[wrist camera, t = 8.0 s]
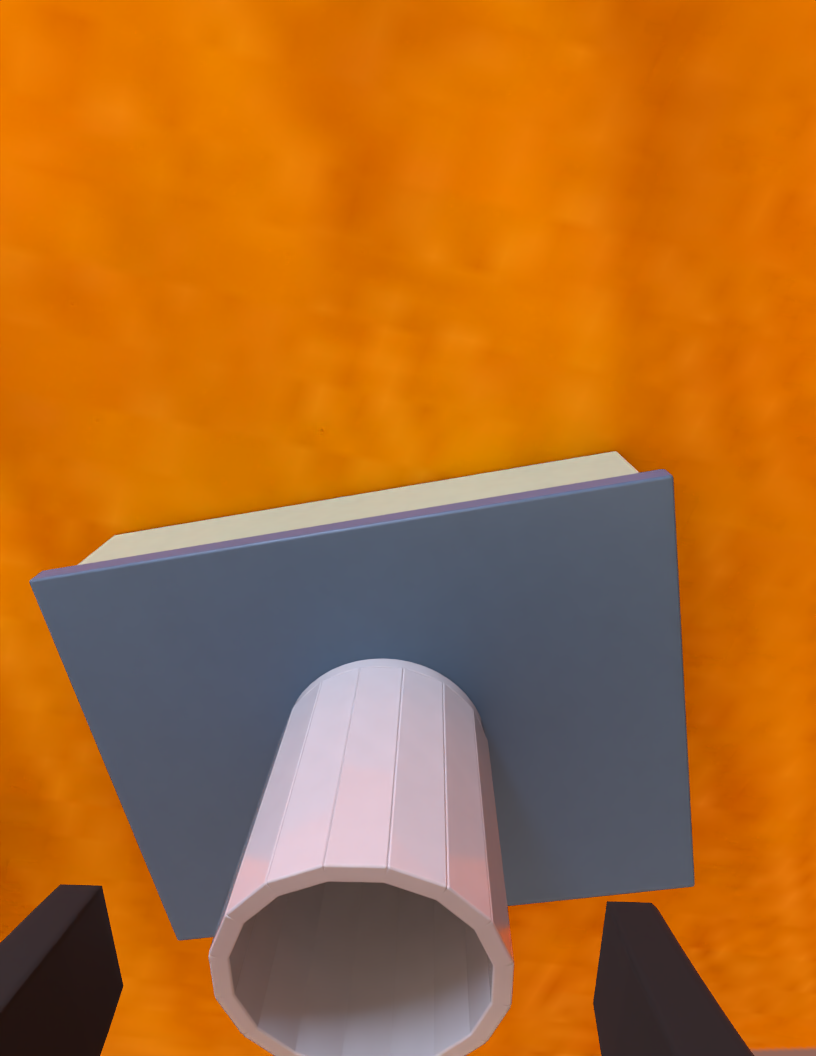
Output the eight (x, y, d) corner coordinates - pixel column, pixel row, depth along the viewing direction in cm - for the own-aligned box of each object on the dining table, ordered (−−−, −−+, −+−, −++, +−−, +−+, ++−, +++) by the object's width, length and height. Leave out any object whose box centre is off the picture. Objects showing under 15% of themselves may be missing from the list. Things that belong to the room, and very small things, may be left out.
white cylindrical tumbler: (292, 822, 18) (226, 1076, 12) (277, 656, 16) (192, 862, 10) (483, 825, 17) (506, 1085, 12) (489, 658, 16) (521, 870, 10)
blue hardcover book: (215, 843, 23) (177, 942, 19) (99, 526, 19) (27, 580, 15) (654, 791, 21) (695, 887, 18) (627, 437, 17) (674, 474, 14)
